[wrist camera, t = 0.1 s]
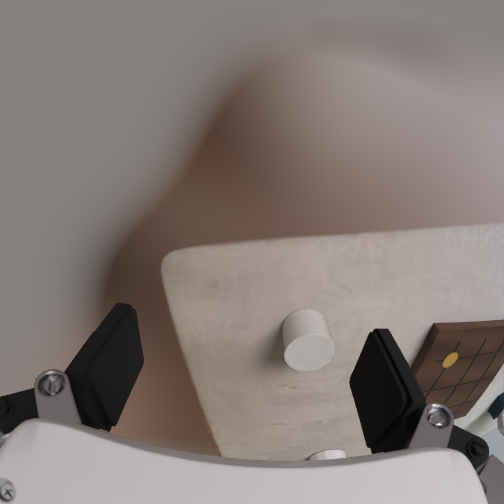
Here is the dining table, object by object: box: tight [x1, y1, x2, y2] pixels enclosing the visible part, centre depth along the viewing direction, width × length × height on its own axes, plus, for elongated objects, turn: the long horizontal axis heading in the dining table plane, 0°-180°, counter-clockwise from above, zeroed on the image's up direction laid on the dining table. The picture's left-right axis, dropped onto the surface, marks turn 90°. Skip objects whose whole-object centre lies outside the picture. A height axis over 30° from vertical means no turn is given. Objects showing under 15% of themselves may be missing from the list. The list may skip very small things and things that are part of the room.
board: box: [411, 320, 504, 419], centre depth 30 cm, size 22×22×2 cm
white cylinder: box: [282, 309, 335, 371], centre depth 25 cm, size 5×5×4 cm
